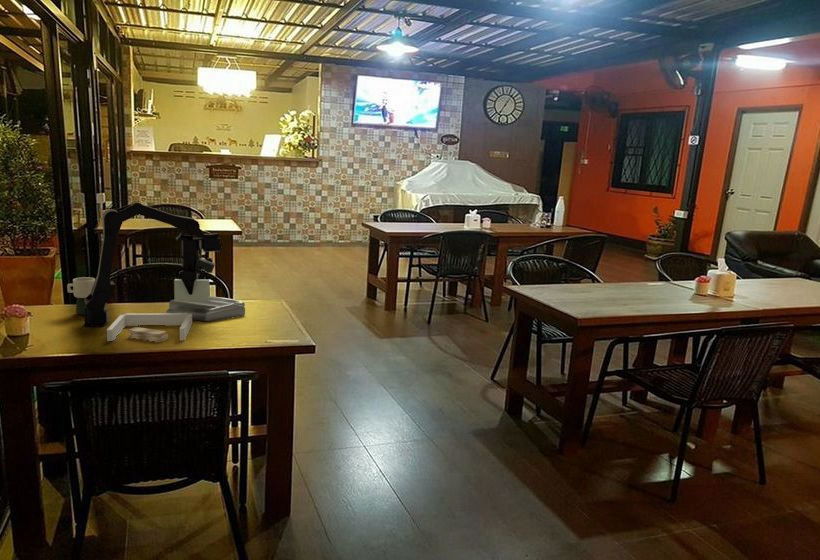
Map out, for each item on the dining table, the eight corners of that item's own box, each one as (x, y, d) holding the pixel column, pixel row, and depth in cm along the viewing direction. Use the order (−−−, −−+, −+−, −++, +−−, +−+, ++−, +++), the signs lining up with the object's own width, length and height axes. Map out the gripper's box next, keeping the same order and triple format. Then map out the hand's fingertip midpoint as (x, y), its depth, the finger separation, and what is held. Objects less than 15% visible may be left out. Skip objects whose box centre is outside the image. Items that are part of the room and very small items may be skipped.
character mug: (104, 311, 219) (102, 276, 216) (100, 315, 212) (98, 280, 209) (71, 311, 215) (69, 277, 213) (66, 316, 209) (64, 281, 206)
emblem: (244, 291, 240) (245, 308, 214) (244, 304, 242) (245, 322, 215) (171, 292, 233) (163, 309, 206) (171, 305, 234) (163, 324, 207)
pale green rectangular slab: (174, 301, 215) (174, 280, 213) (175, 300, 217) (175, 279, 215) (208, 301, 218) (208, 280, 216) (209, 300, 220) (209, 279, 218)
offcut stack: (128, 338, 190) (127, 329, 189) (137, 335, 194) (136, 326, 193) (159, 343, 187) (159, 334, 186) (168, 340, 190) (167, 331, 190)
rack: (107, 341, 184) (106, 329, 184) (122, 324, 203) (121, 313, 202) (184, 340, 190) (184, 328, 189) (192, 324, 208) (192, 313, 208)
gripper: (211, 257, 207) (211, 299, 210) (215, 248, 224) (216, 288, 228) (177, 256, 204) (178, 299, 207) (184, 248, 222) (185, 288, 225)
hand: (191, 293), depth 217 cm, fingers closed on pale green rectangular slab, 2 cm apart
